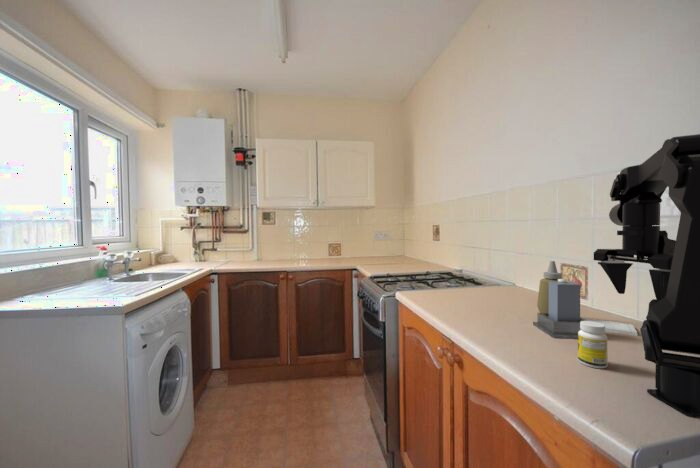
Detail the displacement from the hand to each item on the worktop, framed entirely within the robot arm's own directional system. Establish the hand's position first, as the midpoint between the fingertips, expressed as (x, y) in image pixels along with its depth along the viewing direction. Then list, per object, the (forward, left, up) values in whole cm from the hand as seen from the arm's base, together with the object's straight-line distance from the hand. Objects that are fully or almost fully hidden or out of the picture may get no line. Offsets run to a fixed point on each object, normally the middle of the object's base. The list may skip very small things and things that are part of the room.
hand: (640, 298), depth 63 cm
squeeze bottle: (+28, +1, -13) cm, 31 cm away
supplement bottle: (-3, +12, -13) cm, 18 cm away
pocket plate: (+16, +5, -13) cm, 22 cm away
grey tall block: (+16, +5, -12) cm, 21 cm away
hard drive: (+21, -9, -14) cm, 27 cm away
